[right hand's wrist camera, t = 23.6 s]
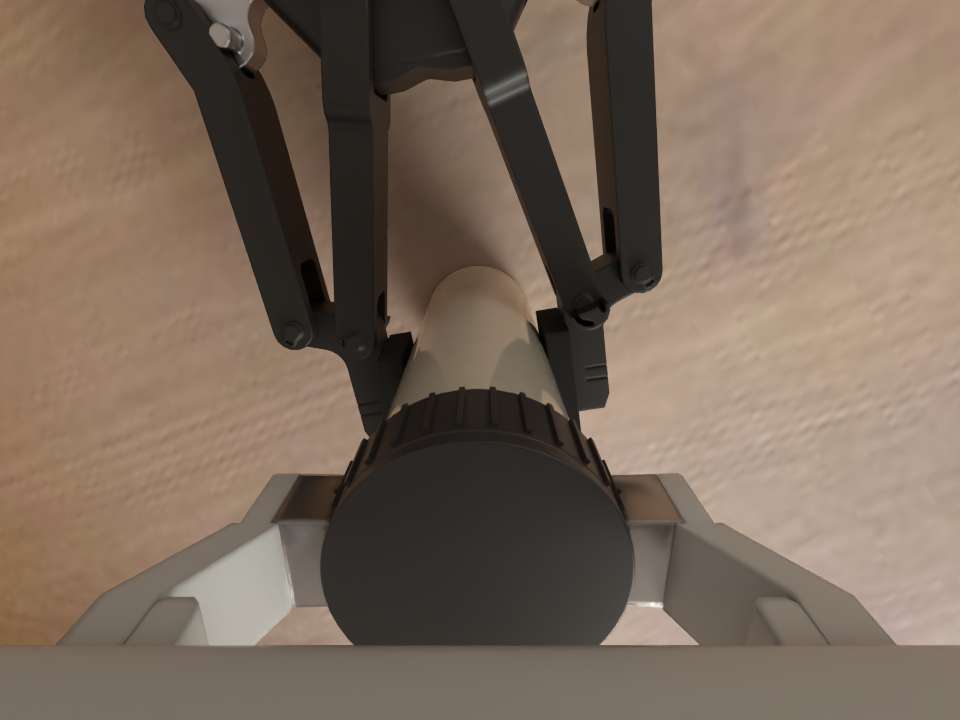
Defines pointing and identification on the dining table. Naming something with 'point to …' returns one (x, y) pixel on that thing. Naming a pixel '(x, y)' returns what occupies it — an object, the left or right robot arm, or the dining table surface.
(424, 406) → the lid
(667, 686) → the right robot arm
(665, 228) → the dining table surface
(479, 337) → the jar
